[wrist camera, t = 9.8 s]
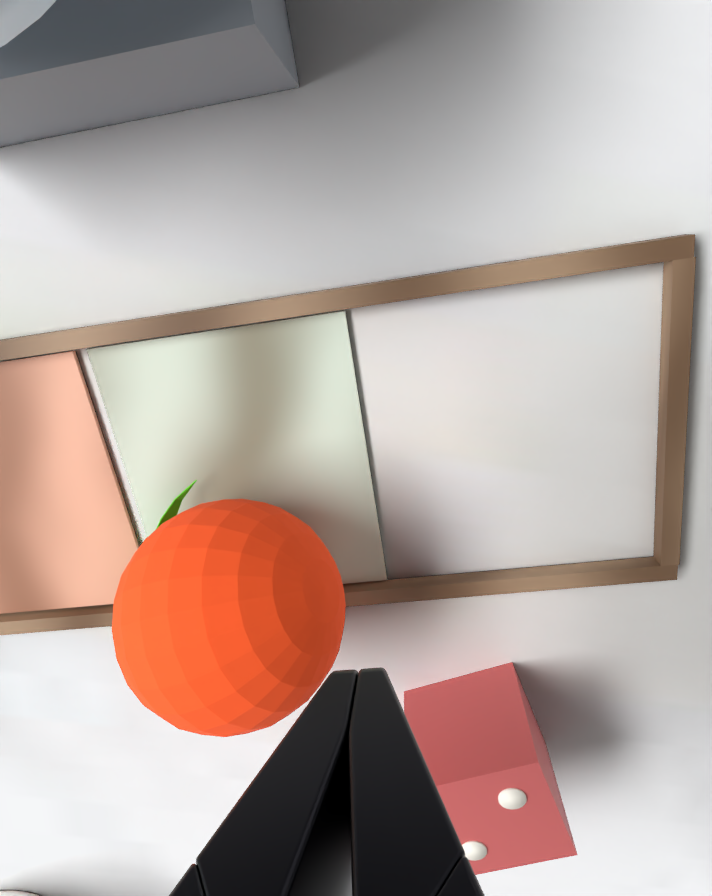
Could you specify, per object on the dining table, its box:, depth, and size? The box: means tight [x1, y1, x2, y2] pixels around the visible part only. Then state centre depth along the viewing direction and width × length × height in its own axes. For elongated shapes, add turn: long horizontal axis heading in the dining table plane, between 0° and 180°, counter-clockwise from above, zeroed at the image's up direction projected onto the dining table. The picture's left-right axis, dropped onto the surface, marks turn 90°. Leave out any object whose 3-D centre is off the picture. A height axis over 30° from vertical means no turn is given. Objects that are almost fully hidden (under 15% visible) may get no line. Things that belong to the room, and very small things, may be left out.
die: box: [404, 662, 577, 875], centre depth 21 cm, size 4×4×5 cm
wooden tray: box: [0, 234, 696, 635], centre depth 19 cm, size 29×11×2 cm, turn 99°
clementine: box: [112, 480, 346, 737], centre depth 18 cm, size 8×7×7 cm
